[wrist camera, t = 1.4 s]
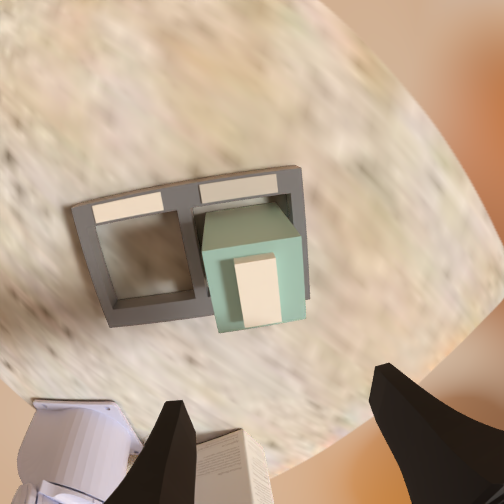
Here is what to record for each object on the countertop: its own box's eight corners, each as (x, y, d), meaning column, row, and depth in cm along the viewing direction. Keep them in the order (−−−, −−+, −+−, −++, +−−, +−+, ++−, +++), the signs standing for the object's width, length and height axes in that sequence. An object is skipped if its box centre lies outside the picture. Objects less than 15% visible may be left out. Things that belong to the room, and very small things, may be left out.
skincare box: (213, 462, 27) (220, 565, 16) (187, 443, 26) (186, 557, 15) (266, 444, 27) (287, 553, 16) (243, 424, 25) (260, 547, 14)
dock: (114, 317, 20) (109, 328, 19) (78, 203, 17) (70, 208, 16) (305, 290, 21) (310, 299, 19) (295, 165, 18) (301, 168, 16)
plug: (217, 275, 20) (218, 341, 14) (205, 212, 18) (200, 257, 12) (281, 265, 20) (309, 326, 14) (275, 202, 18) (305, 241, 12)
